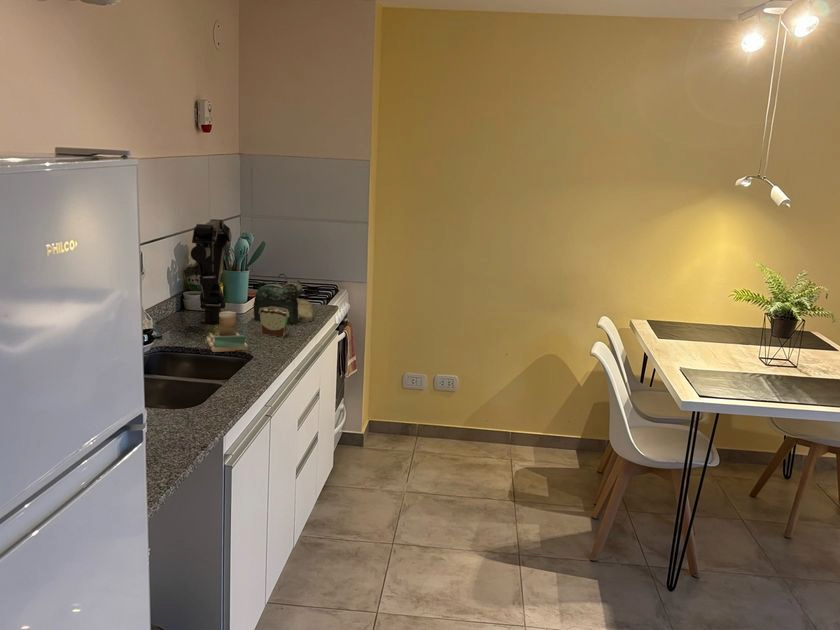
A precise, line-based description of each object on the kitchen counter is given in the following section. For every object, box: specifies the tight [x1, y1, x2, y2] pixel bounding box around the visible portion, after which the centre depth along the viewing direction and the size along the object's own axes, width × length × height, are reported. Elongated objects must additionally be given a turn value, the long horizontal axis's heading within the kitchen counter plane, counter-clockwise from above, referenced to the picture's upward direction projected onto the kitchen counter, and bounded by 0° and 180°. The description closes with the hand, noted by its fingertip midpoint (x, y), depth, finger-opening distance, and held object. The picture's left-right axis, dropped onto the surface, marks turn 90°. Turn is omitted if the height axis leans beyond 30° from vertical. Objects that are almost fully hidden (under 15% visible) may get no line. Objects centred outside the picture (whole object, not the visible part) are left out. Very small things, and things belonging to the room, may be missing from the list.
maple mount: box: [206, 331, 249, 353], centre depth 274 cm, size 16×12×5 cm
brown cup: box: [218, 310, 237, 336], centre depth 271 cm, size 6×6×10 cm
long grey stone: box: [297, 297, 315, 323], centre depth 331 cm, size 35×5×10 cm
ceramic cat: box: [252, 273, 304, 325], centre depth 311 cm, size 20×6×20 cm, turn 76°
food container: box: [258, 306, 289, 338], centre depth 292 cm, size 12×6×10 cm, turn 71°
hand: (205, 298), depth 292 cm, fingers closed
